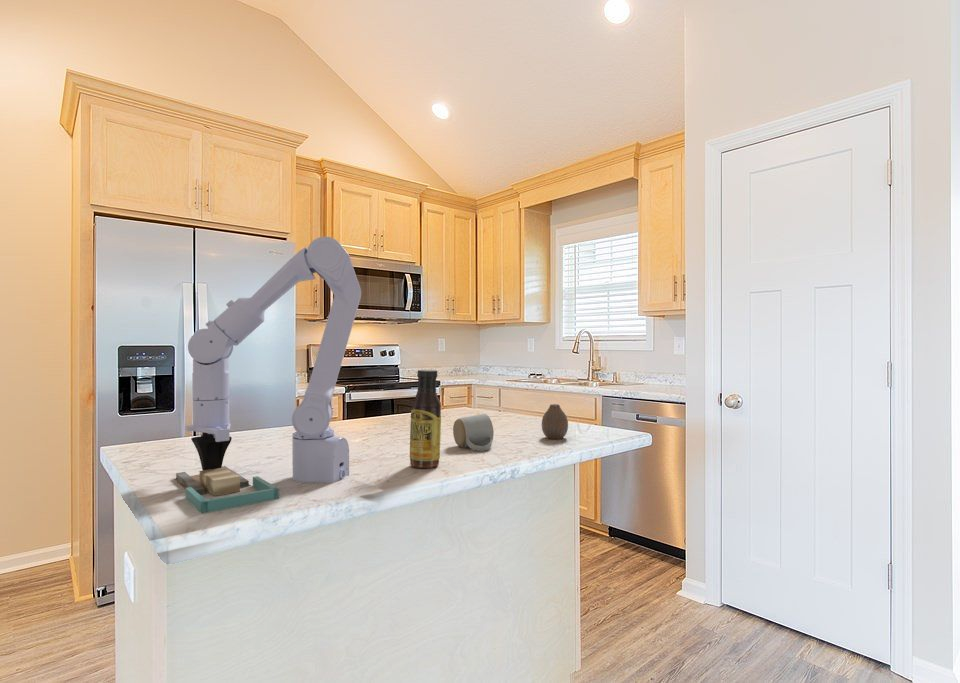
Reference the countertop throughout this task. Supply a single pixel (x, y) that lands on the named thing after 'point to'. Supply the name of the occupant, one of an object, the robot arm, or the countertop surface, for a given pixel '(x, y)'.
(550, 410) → the vase
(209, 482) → the tan wooden block
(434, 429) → the sauce bottle
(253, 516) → the countertop surface
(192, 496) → the teal u-shaped rail
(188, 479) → the slot track
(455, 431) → the ceramic mug
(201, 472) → the chip
